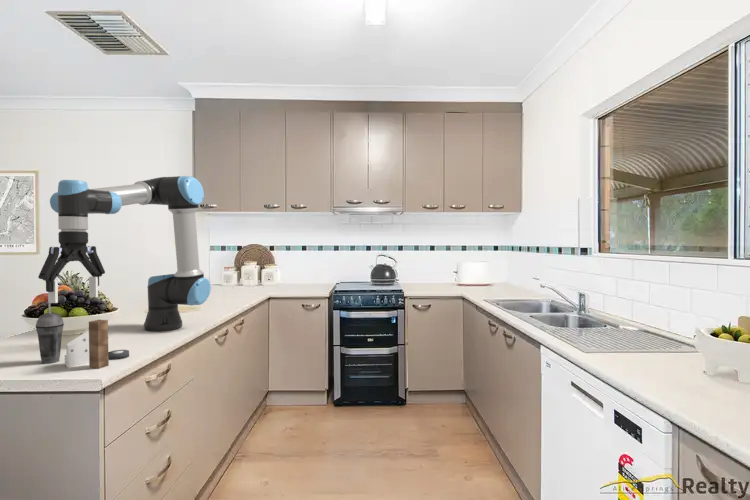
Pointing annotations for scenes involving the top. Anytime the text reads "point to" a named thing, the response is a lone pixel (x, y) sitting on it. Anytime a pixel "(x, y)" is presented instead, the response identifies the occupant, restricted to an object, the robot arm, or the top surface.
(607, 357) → the top surface
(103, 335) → the walnut post
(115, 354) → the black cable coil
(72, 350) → the white angled block
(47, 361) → the beverage cup
